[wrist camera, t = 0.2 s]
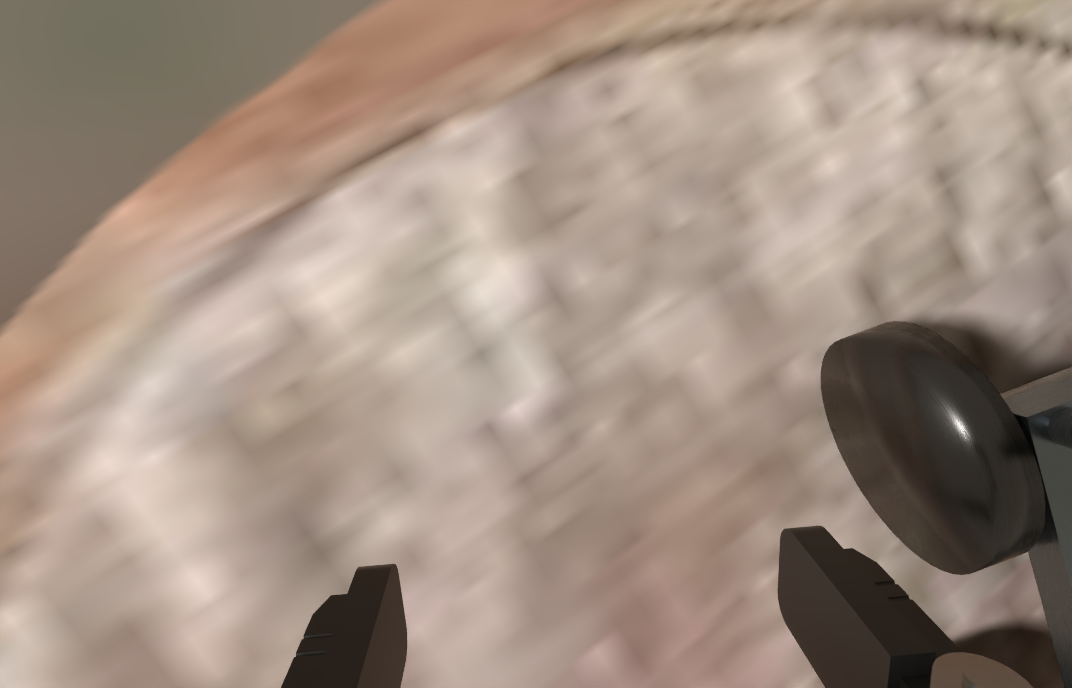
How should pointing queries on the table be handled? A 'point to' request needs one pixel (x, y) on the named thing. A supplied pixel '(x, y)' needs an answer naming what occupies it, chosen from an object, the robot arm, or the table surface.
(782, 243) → the table surface
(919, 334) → the trolley
